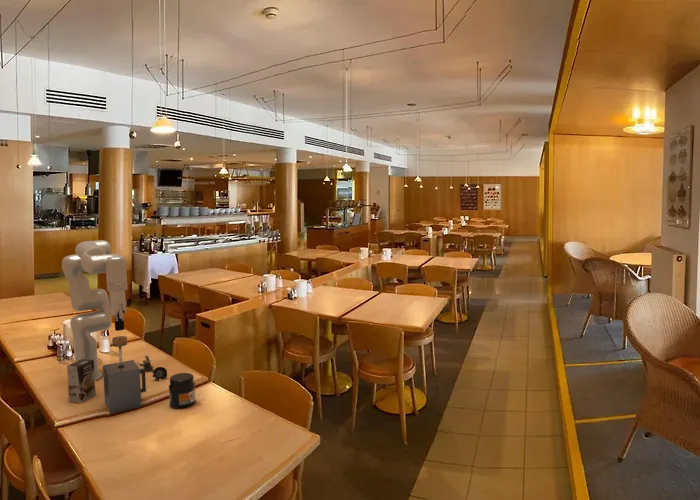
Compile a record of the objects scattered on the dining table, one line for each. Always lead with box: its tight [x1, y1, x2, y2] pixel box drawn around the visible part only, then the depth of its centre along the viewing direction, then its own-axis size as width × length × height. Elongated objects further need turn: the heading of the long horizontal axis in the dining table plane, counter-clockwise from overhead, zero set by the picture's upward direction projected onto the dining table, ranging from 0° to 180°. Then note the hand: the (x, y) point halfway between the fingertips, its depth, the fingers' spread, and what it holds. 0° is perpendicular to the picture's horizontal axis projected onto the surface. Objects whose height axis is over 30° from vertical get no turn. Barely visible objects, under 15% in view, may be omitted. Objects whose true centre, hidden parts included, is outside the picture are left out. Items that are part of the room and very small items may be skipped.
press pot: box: [102, 359, 147, 415], centre depth 209 cm, size 12×15×17 cm
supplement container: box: [168, 372, 196, 409], centre depth 210 cm, size 10×10×12 cm
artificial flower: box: [136, 354, 168, 381], centre depth 244 cm, size 9×22×10 cm, turn 37°
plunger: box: [111, 335, 128, 368], centre depth 207 cm, size 10×10×18 cm
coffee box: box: [66, 359, 96, 404], centre depth 215 cm, size 9×6×16 cm
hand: (119, 329), depth 205 cm, fingers closed
